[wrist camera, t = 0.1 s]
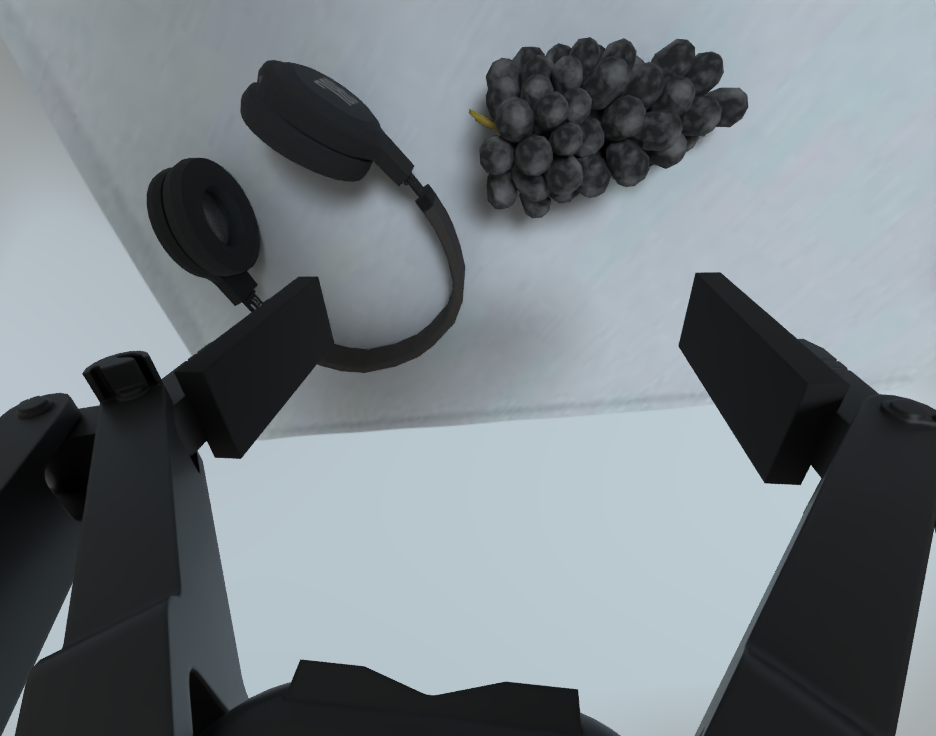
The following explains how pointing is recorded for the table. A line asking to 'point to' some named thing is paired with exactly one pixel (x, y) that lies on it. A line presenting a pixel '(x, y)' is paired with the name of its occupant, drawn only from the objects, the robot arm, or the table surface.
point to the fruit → (596, 118)
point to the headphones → (316, 148)
